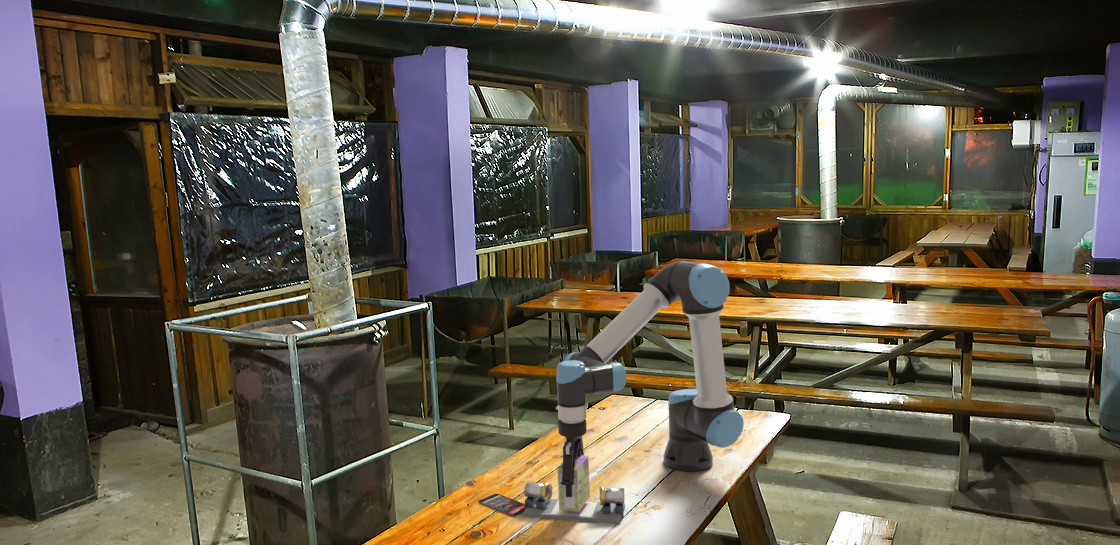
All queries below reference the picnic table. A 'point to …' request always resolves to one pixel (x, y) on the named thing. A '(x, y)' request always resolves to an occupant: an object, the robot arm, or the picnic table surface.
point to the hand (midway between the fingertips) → (574, 498)
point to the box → (576, 484)
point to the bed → (587, 512)
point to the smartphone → (503, 505)
